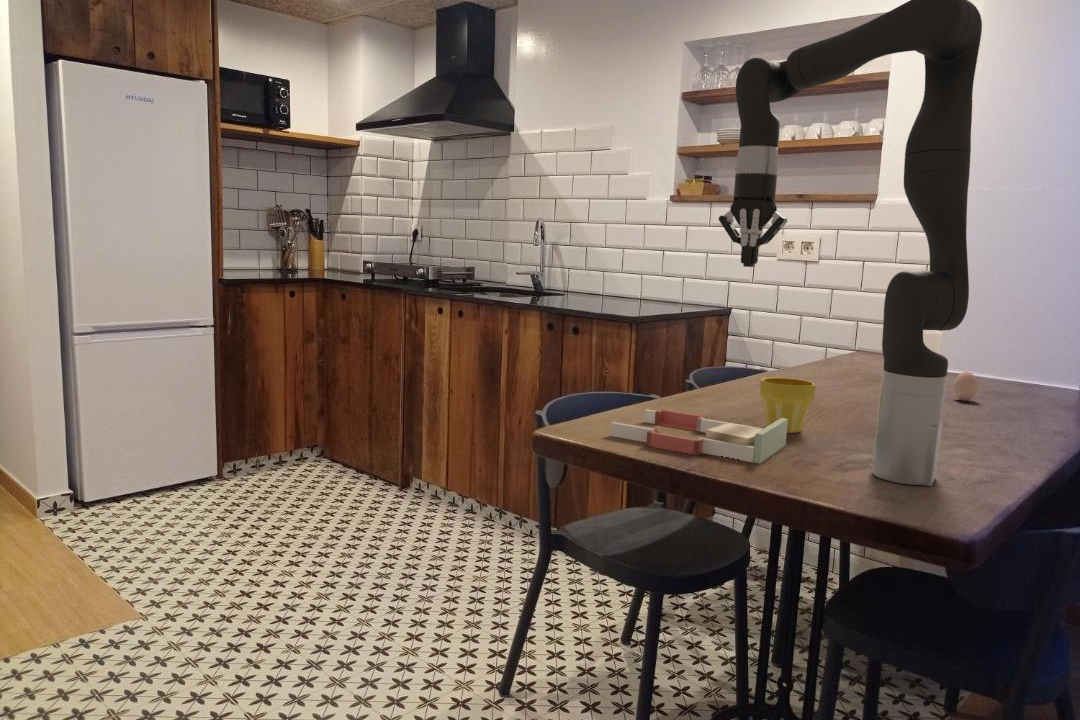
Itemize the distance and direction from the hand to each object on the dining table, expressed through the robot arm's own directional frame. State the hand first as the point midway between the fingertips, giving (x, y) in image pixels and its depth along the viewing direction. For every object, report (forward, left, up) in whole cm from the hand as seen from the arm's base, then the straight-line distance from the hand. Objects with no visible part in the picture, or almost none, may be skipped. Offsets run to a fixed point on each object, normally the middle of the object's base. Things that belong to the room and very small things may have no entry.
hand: (748, 266), depth 153 cm
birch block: (-5, +14, -32) cm, 36 cm away
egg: (-34, -73, -32) cm, 87 cm away
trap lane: (+3, +12, -32) cm, 34 cm away
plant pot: (-7, -9, -32) cm, 34 cm away
